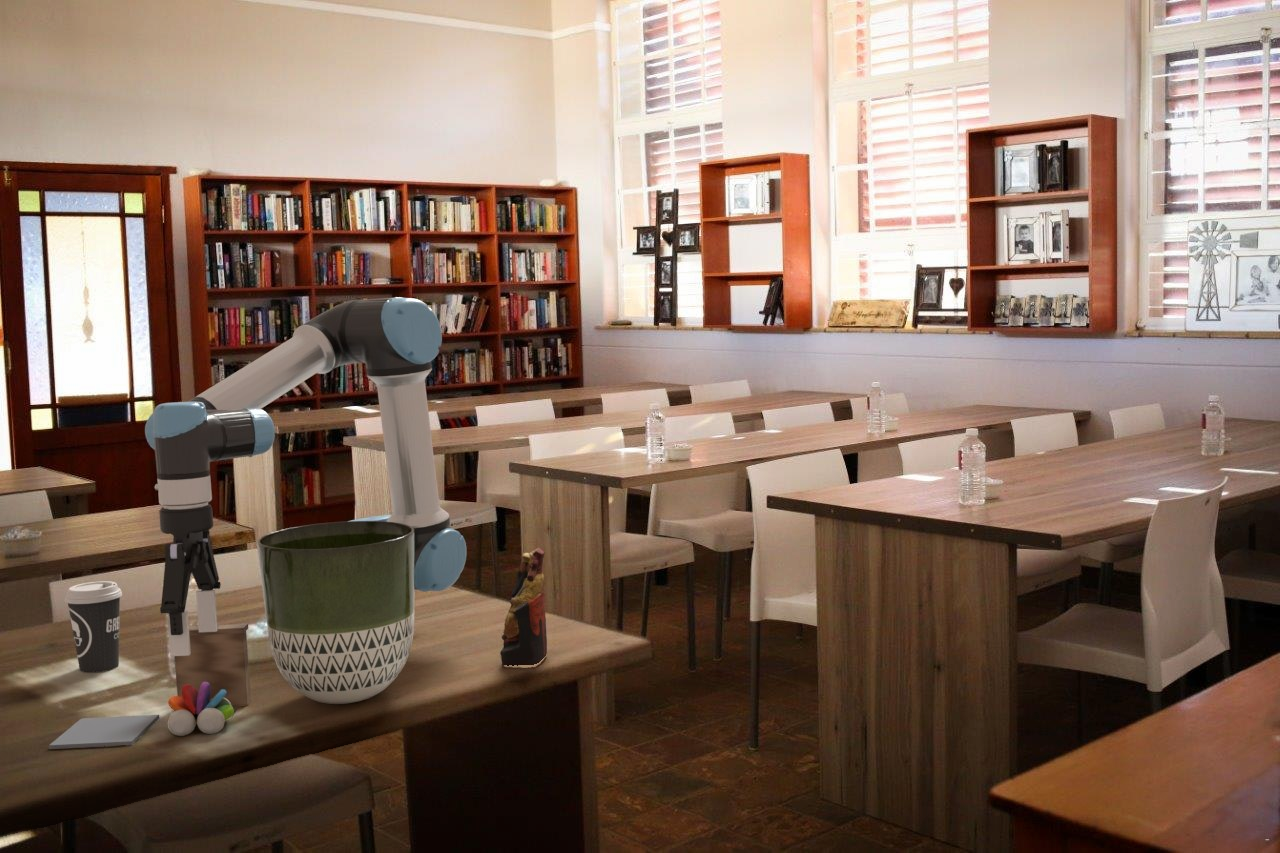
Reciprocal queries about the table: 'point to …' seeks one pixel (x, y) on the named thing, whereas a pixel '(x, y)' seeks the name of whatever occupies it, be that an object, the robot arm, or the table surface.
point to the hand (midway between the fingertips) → (194, 643)
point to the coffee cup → (95, 624)
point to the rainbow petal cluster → (198, 710)
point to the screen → (217, 663)
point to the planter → (339, 606)
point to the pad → (104, 731)
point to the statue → (526, 615)
